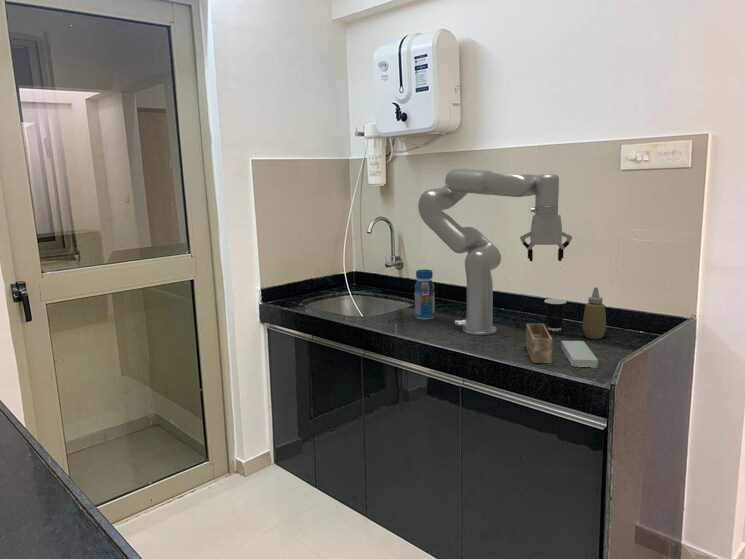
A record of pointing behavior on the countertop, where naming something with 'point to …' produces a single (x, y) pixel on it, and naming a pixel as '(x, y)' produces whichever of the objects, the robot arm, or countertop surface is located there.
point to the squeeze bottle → (594, 317)
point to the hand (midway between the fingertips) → (545, 260)
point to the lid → (579, 354)
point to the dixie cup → (554, 313)
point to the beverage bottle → (424, 295)
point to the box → (539, 343)
